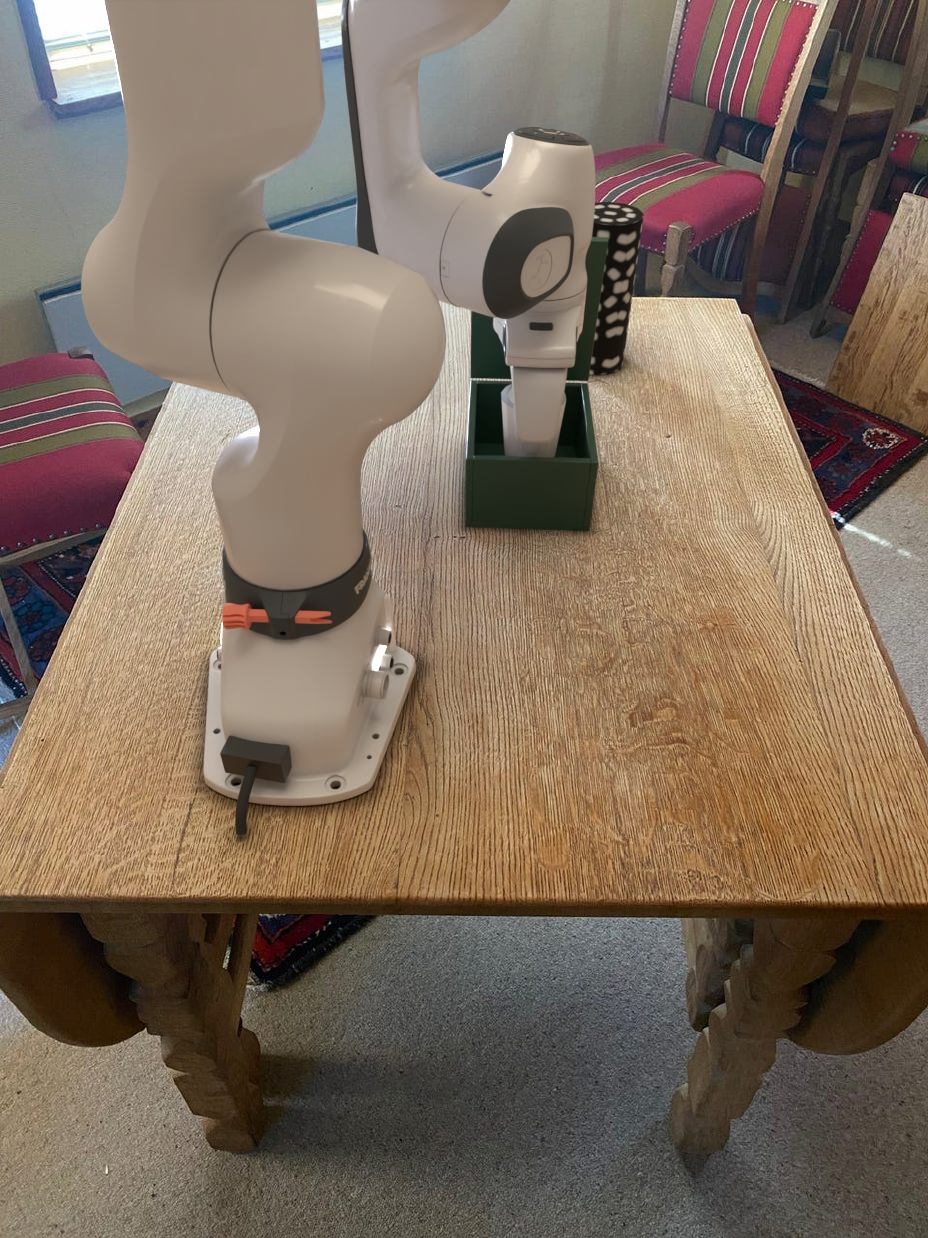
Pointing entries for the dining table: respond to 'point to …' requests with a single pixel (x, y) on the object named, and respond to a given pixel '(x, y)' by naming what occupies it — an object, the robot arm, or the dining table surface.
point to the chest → (529, 467)
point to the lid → (491, 353)
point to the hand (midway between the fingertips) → (530, 434)
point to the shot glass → (510, 440)
